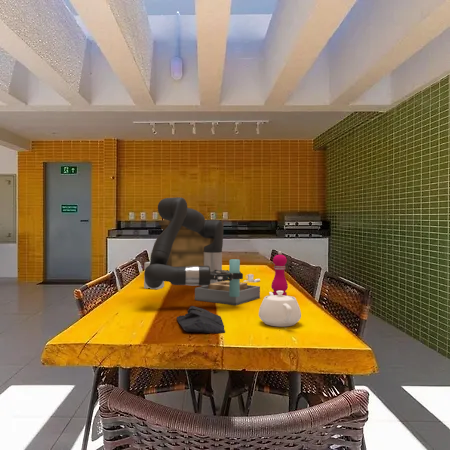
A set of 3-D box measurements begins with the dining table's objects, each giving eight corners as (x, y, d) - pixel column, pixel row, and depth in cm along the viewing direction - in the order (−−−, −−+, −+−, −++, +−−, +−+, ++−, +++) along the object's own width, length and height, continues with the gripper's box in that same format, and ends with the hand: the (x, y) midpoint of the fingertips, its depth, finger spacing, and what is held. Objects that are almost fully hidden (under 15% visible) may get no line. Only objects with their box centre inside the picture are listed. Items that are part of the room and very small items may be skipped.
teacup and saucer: (262, 282, 242) (262, 274, 242) (252, 283, 236) (252, 276, 236) (249, 280, 248) (249, 273, 248) (240, 281, 242) (240, 274, 242)
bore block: (208, 297, 186) (208, 284, 186) (223, 293, 196) (223, 280, 196) (232, 300, 179) (232, 286, 179) (247, 296, 189) (247, 283, 189)
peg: (227, 296, 170) (227, 259, 170) (232, 294, 174) (232, 259, 173) (236, 297, 168) (236, 260, 168) (241, 295, 172) (241, 259, 171)
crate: (222, 281, 242) (223, 221, 241) (158, 281, 238) (158, 220, 238) (217, 273, 277) (217, 221, 276) (160, 273, 273) (161, 220, 272)
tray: (194, 299, 185) (194, 287, 184) (221, 293, 201) (221, 282, 201) (235, 305, 174) (235, 292, 174) (259, 298, 191) (259, 286, 190)
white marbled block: (143, 288, 213) (143, 262, 213) (151, 286, 220) (151, 261, 220) (156, 289, 210) (157, 263, 210) (164, 287, 217) (164, 261, 217)
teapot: (311, 330, 135) (311, 295, 135) (267, 332, 133) (268, 296, 133) (288, 315, 157) (288, 285, 157) (250, 316, 154) (251, 285, 154)
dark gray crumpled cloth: (175, 336, 129) (175, 319, 129) (176, 319, 151) (176, 305, 151) (227, 335, 131) (227, 319, 130) (221, 318, 152) (221, 304, 152)
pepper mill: (289, 295, 197) (290, 250, 197) (284, 298, 191) (285, 251, 190) (274, 294, 200) (274, 250, 200) (269, 296, 194) (269, 251, 193)
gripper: (198, 268, 162) (245, 267, 164) (196, 263, 176) (238, 263, 178) (198, 288, 162) (244, 287, 164) (196, 282, 176) (238, 281, 178)
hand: (241, 275), depth 171 cm, fingers closed on peg, 4 cm apart
